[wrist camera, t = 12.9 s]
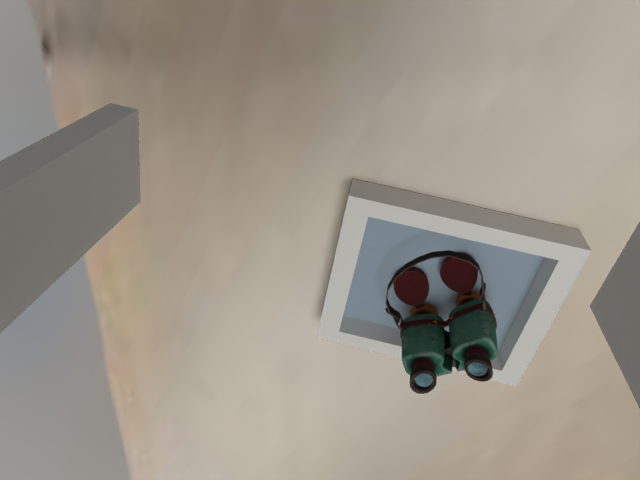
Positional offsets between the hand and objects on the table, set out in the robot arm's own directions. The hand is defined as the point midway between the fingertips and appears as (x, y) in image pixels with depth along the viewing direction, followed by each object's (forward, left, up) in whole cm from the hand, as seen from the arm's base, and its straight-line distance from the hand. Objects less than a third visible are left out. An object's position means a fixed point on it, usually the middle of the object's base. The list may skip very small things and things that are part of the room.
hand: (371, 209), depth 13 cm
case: (+20, +9, -29) cm, 36 cm away
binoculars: (+20, +9, -28) cm, 35 cm away
